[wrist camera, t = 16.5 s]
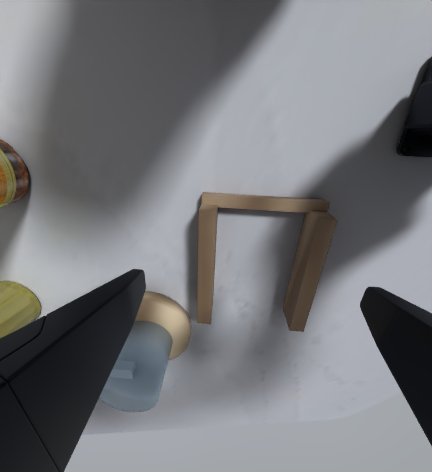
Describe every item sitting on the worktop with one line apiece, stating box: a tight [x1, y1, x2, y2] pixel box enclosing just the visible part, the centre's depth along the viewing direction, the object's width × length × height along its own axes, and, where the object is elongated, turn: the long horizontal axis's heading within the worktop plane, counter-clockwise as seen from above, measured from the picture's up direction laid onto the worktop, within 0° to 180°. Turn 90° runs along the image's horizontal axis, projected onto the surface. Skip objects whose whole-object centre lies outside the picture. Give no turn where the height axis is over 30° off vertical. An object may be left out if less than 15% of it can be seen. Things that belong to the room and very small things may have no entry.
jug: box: [99, 321, 173, 412], centre depth 23 cm, size 6×9×6 cm, turn 177°
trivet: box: [135, 291, 191, 360], centre depth 26 cm, size 10×10×2 cm
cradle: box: [197, 192, 337, 332], centre depth 21 cm, size 11×13×3 cm
